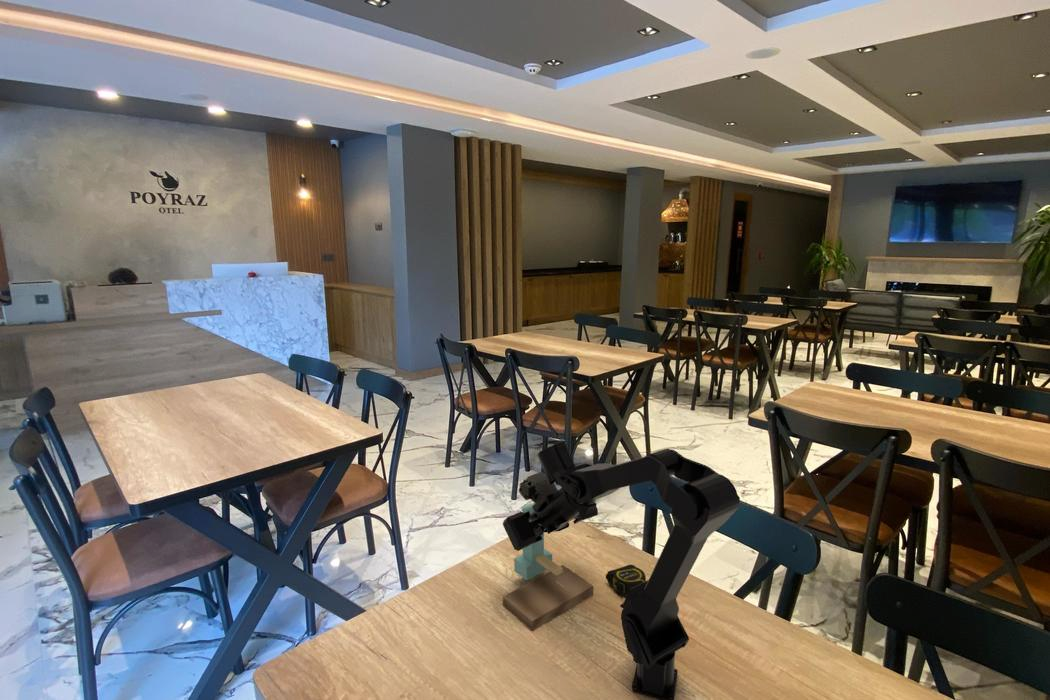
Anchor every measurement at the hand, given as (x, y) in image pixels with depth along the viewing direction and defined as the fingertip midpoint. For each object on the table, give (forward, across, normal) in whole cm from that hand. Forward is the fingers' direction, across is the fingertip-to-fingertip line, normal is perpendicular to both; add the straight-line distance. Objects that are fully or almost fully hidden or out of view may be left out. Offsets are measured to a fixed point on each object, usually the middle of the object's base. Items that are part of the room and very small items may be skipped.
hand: (528, 533), depth 111 cm
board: (+1, +2, +13) cm, 13 cm away
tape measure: (-4, -13, +18) cm, 23 cm away
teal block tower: (+2, 0, +9) cm, 9 cm away
